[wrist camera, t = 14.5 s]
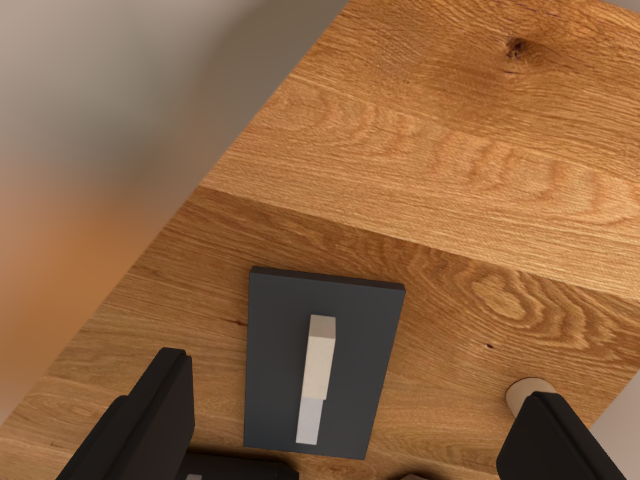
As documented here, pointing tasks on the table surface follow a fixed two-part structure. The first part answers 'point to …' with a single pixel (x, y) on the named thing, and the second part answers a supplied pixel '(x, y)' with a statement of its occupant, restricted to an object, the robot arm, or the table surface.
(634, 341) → the table surface
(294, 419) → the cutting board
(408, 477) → the potted plant
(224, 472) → the portable speaker
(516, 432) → the robot arm
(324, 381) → the white stepped bar
